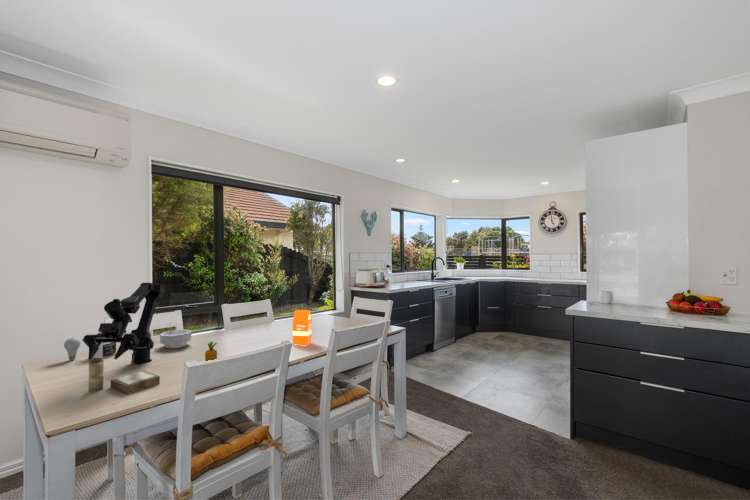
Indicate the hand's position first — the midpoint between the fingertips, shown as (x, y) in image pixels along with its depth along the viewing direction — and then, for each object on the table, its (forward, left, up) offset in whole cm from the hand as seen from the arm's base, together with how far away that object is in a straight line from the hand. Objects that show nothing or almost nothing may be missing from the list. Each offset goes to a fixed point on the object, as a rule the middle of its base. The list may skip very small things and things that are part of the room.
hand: (102, 359), depth 137 cm
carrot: (-29, +26, -11) cm, 41 cm away
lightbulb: (-8, -49, -11) cm, 51 cm away
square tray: (-7, +10, -11) cm, 16 cm away
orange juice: (-88, +26, -11) cm, 93 cm away
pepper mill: (+3, +2, -11) cm, 11 cm away
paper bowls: (-48, -31, -11) cm, 58 cm away
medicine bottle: (-19, -44, -11) cm, 49 cm away
